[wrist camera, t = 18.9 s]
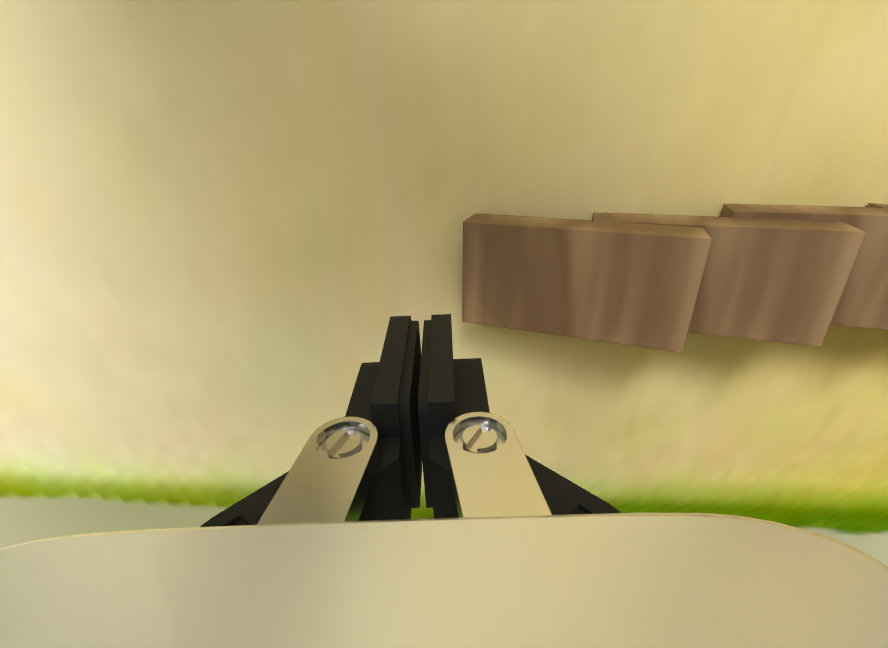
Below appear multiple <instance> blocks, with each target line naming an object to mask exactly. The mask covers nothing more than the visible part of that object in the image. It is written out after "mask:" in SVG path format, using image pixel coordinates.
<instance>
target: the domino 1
mask: <svg viewBox="0 0 888 648" xmlns="http://www.w3.org/2000/svg"><path fill="white" fill-rule="evenodd" d="M711 240H712V239H711V237H710V236H709V235H708V234H707V232H706V231H705V230H704V228H702V227H685V226H669V225H652V224H636V223H620V222H603V221H587V220H571V219H554V218H538V217H521V216H505V215H489V214H474V215H473V216H471V217H470V218H468V219H467V220H466V221H464V222H463V301H462V321H463V322H470V323H477V324H484V325H491V326H498V327H505V328H512V329H519V330H526V331H533V332H541V333H548V334H555V335H562V336H569V337H576V338H583V339H590V340H597V341H604V342H611V343H618V344H625V345H632V346H639V347H646V348H653V349H660V350H667V351H674V352H681V353H682V351H683V347H684V343H685V339H686V336H687V332H688V328H689V324H690V320H691V317H692V313H693V309H694V305H695V301H696V297H697V294H698V290H699V286H700V282H701V278H702V275H703V271H704V267H705V263H706V259H707V255H708V252H709V248H710V244H711Z"/></svg>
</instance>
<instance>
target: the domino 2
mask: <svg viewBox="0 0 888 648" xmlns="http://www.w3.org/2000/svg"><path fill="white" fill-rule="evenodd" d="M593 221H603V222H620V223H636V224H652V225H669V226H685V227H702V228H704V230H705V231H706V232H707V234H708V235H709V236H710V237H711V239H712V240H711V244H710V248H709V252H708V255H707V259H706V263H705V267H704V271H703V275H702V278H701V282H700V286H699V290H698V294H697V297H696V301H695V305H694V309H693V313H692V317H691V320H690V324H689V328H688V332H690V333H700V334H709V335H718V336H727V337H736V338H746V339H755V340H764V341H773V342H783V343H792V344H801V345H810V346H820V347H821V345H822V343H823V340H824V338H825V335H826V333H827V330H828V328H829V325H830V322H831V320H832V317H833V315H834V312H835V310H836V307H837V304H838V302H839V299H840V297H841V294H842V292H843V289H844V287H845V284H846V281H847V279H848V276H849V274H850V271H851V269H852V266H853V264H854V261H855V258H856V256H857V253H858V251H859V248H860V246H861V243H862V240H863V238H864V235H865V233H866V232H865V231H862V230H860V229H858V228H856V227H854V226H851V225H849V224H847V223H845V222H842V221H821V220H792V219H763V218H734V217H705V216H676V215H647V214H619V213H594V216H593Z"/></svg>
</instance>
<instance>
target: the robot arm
mask: <svg viewBox="0 0 888 648" xmlns="http://www.w3.org/2000/svg"><path fill="white" fill-rule="evenodd" d="M422 462H423V474H424V485H425V497H426V507H427V508H431V507H433V511H434V518H433V519H411V508H420V494H421V475H422ZM0 648H888V567H887V566H886V565H885V564H883V563H882V562H880V561H879V560H877V559H875V558H873V557H872V556H870V555H868V554H866V553H864V552H862V551H860V550H858V549H856V548H854V547H852V546H849V545H847V544H844V543H842V542H840V541H837V540H835V539H832V538H829V537H826V536H823V535H820V534H818V533H815V532H811V531H807V530H804V529H800V528H796V527H792V526H789V525H785V524H781V523H777V522H773V521H767V520H761V519H754V518H748V517H742V516H734V515H721V514H708V513H621V512H619V511H618V510H617V509H615V508H614V507H613V506H611V505H610V504H609V503H607V502H605V501H603V500H602V499H600V498H598V497H597V496H595V495H593V494H591V493H590V492H588V491H586V490H585V489H583V488H581V487H579V486H578V485H576V484H574V483H573V482H571V481H569V480H568V479H566V478H564V477H562V476H561V475H559V474H557V473H556V472H554V471H552V470H550V469H549V468H547V467H545V466H544V465H542V464H540V463H538V462H537V461H535V460H533V459H532V458H530V457H528V456H526V455H525V454H524V452H523V450H522V447H521V445H520V443H519V441H518V438H517V436H516V434H515V432H514V430H513V428H512V427H511V425H510V424H509V422H507V421H506V420H505V419H503V418H502V417H500V416H497V415H495V414H492V413H490V412H489V406H488V399H487V393H486V386H485V380H484V374H483V367H482V361H481V358H473V359H453V348H452V327H451V314H444V315H432V317H431V320H424V328H423V341H422V353H421V346H420V333H419V322H418V321H411V316H395V317H390V321H389V325H388V329H387V334H386V338H385V342H384V346H383V350H382V355H381V359H380V362H371V363H362V365H361V367H360V370H359V373H358V377H357V380H356V383H355V386H354V390H353V393H352V396H351V399H350V403H349V406H348V409H347V412H346V416H345V417H342V418H338V419H334V420H332V421H329V422H327V423H325V424H323V425H322V426H321V427H319V428H318V429H316V430H315V432H314V433H313V434H312V435H311V436H310V438H309V440H308V441H307V443H306V445H305V446H304V448H303V449H302V451H301V453H300V454H299V456H298V458H297V459H296V461H295V463H294V464H293V466H292V468H291V469H290V471H288V472H287V473H285V474H283V475H282V476H280V477H279V478H277V479H275V480H274V481H272V482H270V483H269V484H267V485H265V486H264V487H262V488H260V489H259V490H257V491H255V492H254V493H252V494H250V495H249V496H247V497H246V498H244V499H242V500H241V501H239V502H237V503H236V504H234V505H232V506H231V507H229V508H227V509H226V510H224V511H222V512H221V513H219V514H218V515H216V516H214V517H212V518H211V519H210V520H208V521H207V522H206V523H204V524H203V525H202V526H200V527H191V528H167V529H145V530H144V529H143V530H128V531H115V532H101V533H89V534H88V533H87V534H74V535H67V536H60V537H53V538H46V539H40V540H35V541H30V542H26V543H22V544H17V545H13V546H9V547H4V548H0Z"/></svg>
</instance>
